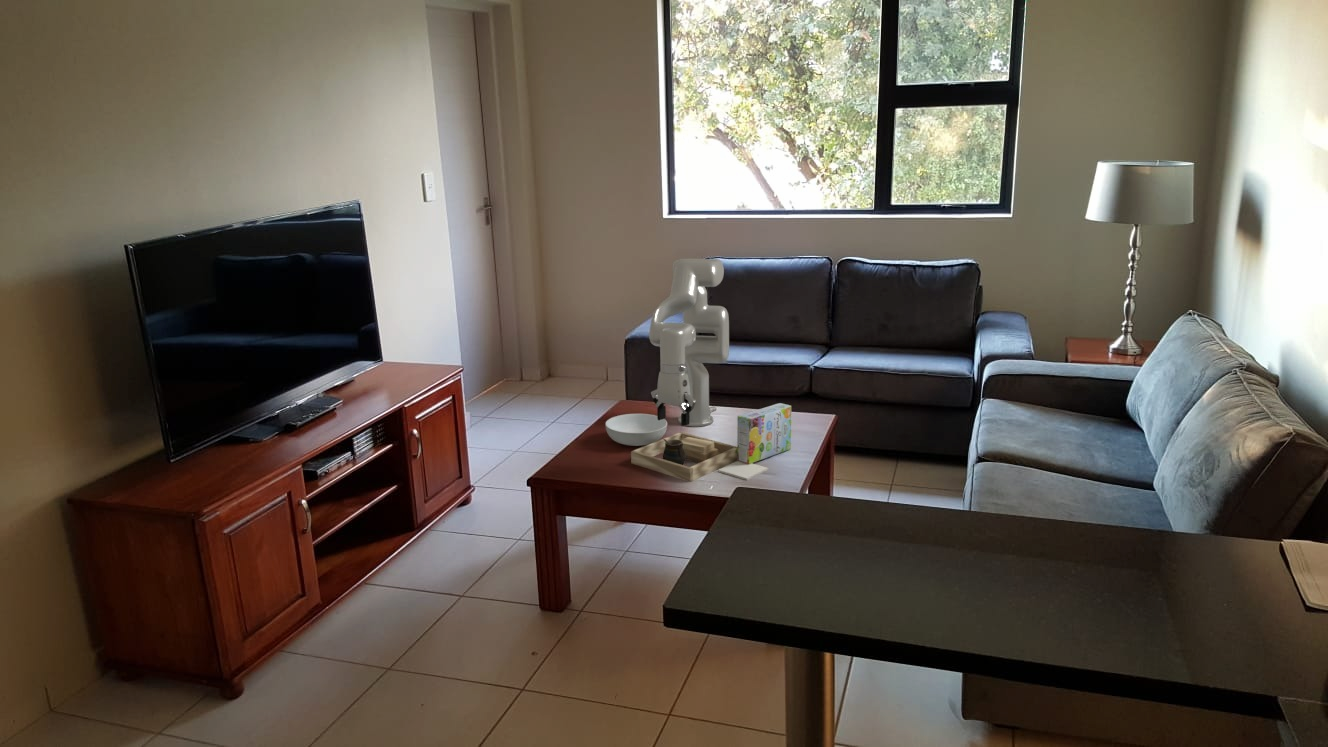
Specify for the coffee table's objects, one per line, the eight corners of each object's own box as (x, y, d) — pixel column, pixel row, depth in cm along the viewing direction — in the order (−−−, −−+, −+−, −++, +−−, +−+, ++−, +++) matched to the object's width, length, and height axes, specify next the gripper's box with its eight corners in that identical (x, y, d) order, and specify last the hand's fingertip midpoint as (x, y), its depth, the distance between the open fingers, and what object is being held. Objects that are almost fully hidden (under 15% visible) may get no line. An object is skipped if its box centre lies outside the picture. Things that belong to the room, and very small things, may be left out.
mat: (739, 461, 286) (739, 459, 286) (768, 469, 279) (768, 467, 279) (718, 471, 278) (718, 469, 278) (746, 480, 271) (746, 478, 271)
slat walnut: (686, 451, 298) (686, 445, 297) (719, 461, 289) (719, 455, 288) (672, 457, 293) (672, 451, 292) (705, 467, 284) (705, 461, 283)
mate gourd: (690, 465, 283) (690, 435, 281) (674, 472, 278) (674, 441, 275) (673, 460, 288) (673, 430, 285) (657, 467, 283) (657, 436, 280)
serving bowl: (641, 456, 292) (641, 436, 290) (593, 444, 304) (592, 425, 302) (679, 439, 308) (679, 420, 306) (632, 428, 320) (631, 409, 318)
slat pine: (688, 442, 295) (688, 436, 295) (714, 447, 290) (714, 441, 289) (678, 447, 290) (677, 442, 290) (704, 452, 285) (704, 447, 284)
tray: (681, 443, 304) (681, 431, 303) (739, 459, 288) (739, 447, 287) (631, 463, 286) (631, 451, 285) (690, 481, 270) (690, 469, 269)
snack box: (777, 445, 299) (779, 402, 296) (791, 449, 296) (793, 405, 292) (735, 460, 285) (736, 414, 281) (749, 465, 281) (750, 418, 278)
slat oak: (690, 446, 296) (690, 440, 296) (718, 455, 288) (718, 449, 288) (677, 451, 292) (676, 446, 291) (704, 460, 284) (704, 454, 283)
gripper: (702, 370, 272) (702, 424, 276) (659, 362, 283) (660, 414, 287) (686, 375, 266) (686, 430, 270) (643, 366, 277) (644, 419, 282)
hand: (673, 422), depth 279 cm, fingers open, 9 cm apart
